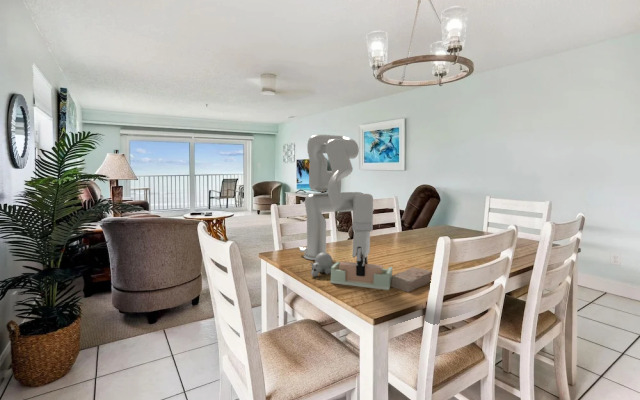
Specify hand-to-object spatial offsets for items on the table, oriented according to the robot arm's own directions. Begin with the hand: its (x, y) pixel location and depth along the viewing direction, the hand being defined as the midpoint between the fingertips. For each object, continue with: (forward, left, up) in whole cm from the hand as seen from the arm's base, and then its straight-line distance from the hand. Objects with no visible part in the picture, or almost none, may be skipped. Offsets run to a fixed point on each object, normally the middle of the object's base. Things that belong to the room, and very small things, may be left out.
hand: (361, 273), depth 125 cm
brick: (+18, +5, -4) cm, 19 cm away
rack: (0, 0, -4) cm, 4 cm away
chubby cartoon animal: (-18, +5, -4) cm, 19 cm away
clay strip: (-1, 0, -3) cm, 3 cm away
